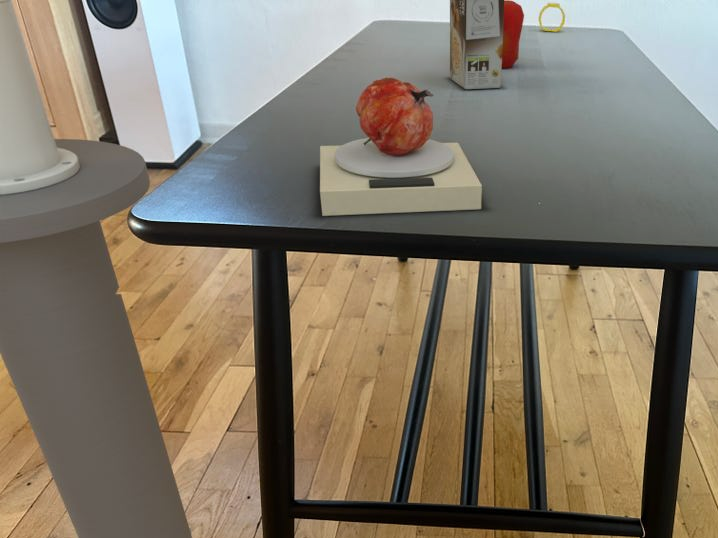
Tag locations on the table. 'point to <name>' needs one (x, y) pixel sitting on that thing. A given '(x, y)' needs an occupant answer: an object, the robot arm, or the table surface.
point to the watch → (552, 6)
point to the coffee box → (476, 43)
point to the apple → (511, 32)
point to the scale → (396, 179)
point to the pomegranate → (395, 116)
